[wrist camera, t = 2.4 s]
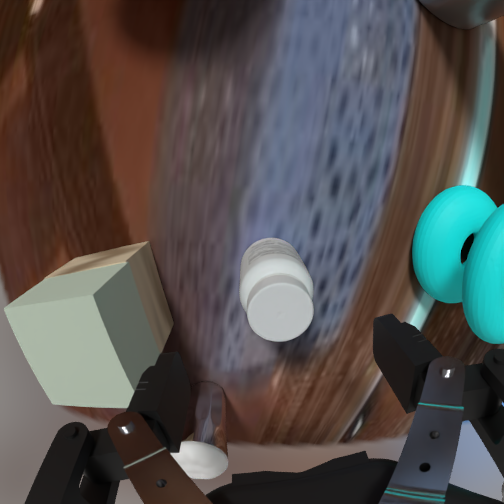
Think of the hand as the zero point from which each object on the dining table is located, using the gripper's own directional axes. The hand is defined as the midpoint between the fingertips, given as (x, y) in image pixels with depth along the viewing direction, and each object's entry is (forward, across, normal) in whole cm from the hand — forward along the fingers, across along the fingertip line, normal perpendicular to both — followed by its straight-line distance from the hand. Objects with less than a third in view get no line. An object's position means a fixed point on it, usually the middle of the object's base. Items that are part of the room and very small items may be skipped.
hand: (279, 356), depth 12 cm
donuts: (+12, -17, +1) cm, 20 cm away
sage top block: (+7, +11, 0) cm, 13 cm away
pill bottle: (+12, -1, 0) cm, 12 cm away
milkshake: (+12, +7, +11) cm, 18 cm away
